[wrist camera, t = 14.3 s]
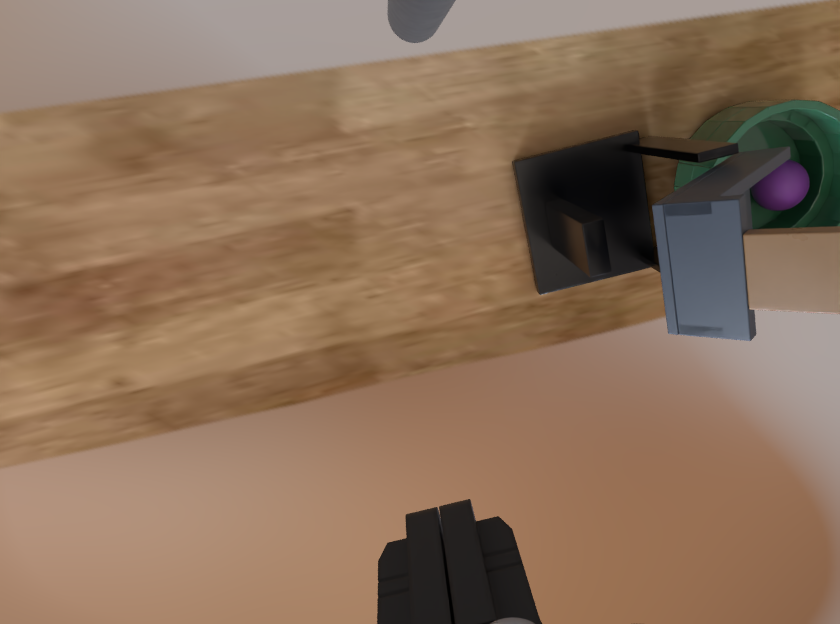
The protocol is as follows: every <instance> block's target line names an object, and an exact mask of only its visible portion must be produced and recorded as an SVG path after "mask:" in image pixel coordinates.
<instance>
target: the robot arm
mask: <svg viewBox="0 0 840 624" xmlns="http://www.w3.org/2000/svg"><path fill="white" fill-rule="evenodd" d="M439 509H440V514H439V511H438V508H437V507H435V508H431V509H427V510H423V511H419V512H415V513H410V514H406V532H407V533H406V535H407V538H406V539H402V540H398V541H393V542H389V543H387V545H386V547H385V549H384V551H383V553H382V555H381V557H380V559H379V561H378V582H379V583H378V614H377V619H378V620H377V624H542V622H541V621H540V618H539V616H538V612H537V609H536V606H535V602H534V599H533V596H532V593H531V589H530V586H529V583H528V580H527V576H526V573H525V570H524V566H523V564H522V560H521V557H520V554H519V550H518V547H517V543H516V540H515V537H514V534H513V531H512V528H510V527H509V526H508V525H507V524H506V523H505V522H504V521H503V520H502V519H501V518H500V517H498V516H497V517H493V518H489V519H485V520H481V521H476V520H475V516H474V512H473V508H472V504H471V500H470V499H468V500H464V501H460V502H455V503H451V504H447V505H443V506H440V507H439ZM440 517H441V518H440Z"/></svg>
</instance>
